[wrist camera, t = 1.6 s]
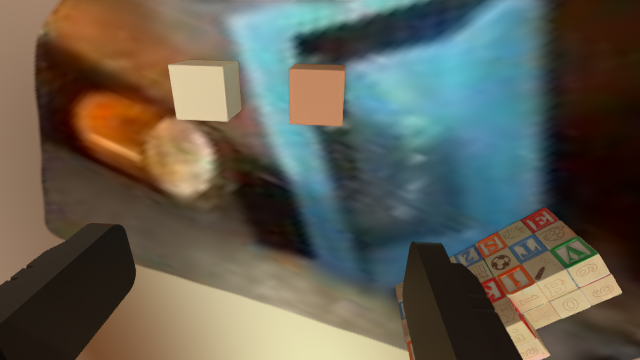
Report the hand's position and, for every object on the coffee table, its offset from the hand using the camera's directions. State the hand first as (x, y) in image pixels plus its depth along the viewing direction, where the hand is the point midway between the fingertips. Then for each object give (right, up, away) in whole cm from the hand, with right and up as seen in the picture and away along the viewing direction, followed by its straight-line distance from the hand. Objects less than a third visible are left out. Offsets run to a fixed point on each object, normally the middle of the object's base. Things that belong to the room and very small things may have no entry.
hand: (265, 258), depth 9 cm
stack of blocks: (+22, -9, +34) cm, 41 cm away
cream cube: (-10, +12, +26) cm, 30 cm away
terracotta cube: (+1, +12, +25) cm, 28 cm away
